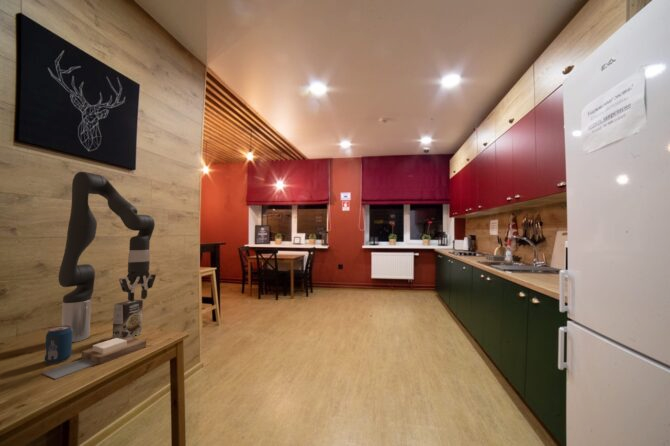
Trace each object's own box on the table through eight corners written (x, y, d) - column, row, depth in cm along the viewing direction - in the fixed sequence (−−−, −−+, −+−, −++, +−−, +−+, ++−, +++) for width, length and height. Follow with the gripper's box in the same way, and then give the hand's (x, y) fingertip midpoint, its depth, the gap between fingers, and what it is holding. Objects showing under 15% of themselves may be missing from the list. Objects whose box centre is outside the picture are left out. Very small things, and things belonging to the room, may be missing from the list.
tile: (92, 350, 102) (92, 345, 102) (116, 342, 109) (116, 337, 109) (103, 353, 99) (103, 348, 99) (126, 345, 106) (126, 340, 106)
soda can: (69, 354, 104) (71, 323, 104) (72, 359, 99) (73, 327, 100) (43, 360, 98) (45, 328, 99) (45, 366, 94) (46, 333, 94)
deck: (81, 357, 101) (81, 351, 101) (127, 342, 116) (127, 336, 116) (100, 364, 96) (100, 357, 96) (146, 347, 111) (146, 341, 111)
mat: (41, 373, 90) (41, 372, 90) (84, 358, 100) (84, 358, 100) (55, 379, 86) (55, 378, 86) (97, 363, 97) (97, 362, 97)
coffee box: (123, 341, 116) (124, 304, 117) (111, 340, 118) (113, 303, 118) (142, 333, 125) (143, 299, 126) (131, 332, 127) (132, 298, 127)
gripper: (150, 258, 122) (149, 295, 121) (114, 261, 109) (113, 303, 108) (161, 259, 119) (159, 297, 119) (126, 262, 106) (124, 305, 105)
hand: (137, 299), depth 113 cm, fingers open, 4 cm apart
